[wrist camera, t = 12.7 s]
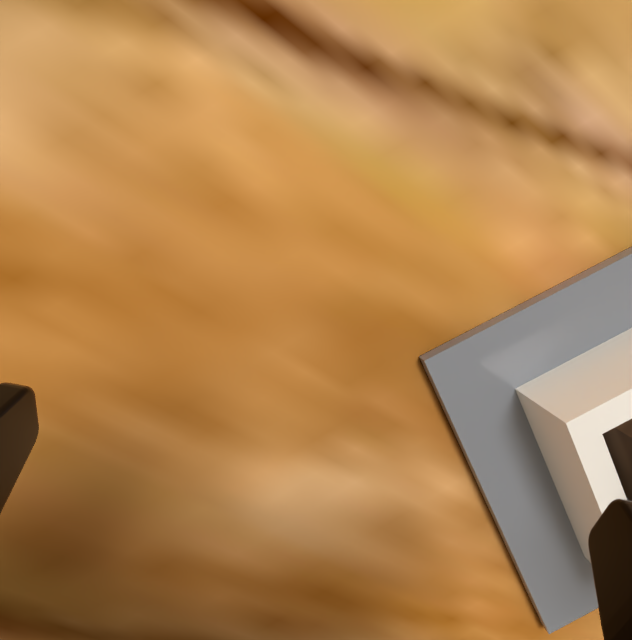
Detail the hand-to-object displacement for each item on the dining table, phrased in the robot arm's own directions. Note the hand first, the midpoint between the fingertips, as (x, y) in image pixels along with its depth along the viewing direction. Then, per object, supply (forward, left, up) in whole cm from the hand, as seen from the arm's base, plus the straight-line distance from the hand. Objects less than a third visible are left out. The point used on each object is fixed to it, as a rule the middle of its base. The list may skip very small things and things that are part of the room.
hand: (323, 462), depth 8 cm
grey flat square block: (+5, -15, -12) cm, 20 cm away
